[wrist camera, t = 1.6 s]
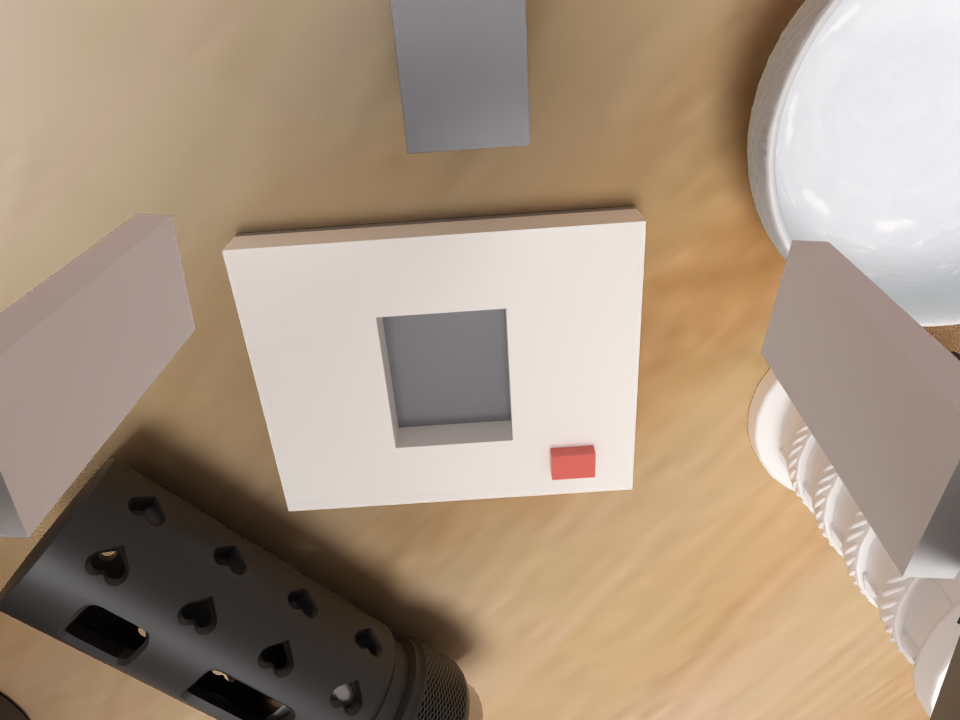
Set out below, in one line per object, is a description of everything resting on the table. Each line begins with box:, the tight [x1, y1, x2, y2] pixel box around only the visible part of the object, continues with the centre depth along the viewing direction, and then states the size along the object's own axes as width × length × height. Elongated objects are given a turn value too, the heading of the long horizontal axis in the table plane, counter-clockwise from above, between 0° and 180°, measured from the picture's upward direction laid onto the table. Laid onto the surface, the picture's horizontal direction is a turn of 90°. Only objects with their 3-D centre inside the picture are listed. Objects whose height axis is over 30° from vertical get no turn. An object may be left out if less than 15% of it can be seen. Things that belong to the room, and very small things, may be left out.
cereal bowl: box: [747, 0, 960, 327], centre depth 30 cm, size 17×17×7 cm
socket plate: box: [222, 206, 646, 511], centre depth 37 cm, size 20×16×3 cm
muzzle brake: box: [0, 457, 483, 720], centre depth 42 cm, size 10×28×10 cm, turn 46°
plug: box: [390, 0, 530, 154], centre depth 27 cm, size 8×4×8 cm, turn 4°
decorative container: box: [747, 368, 960, 718], centre depth 33 cm, size 12×12×18 cm
